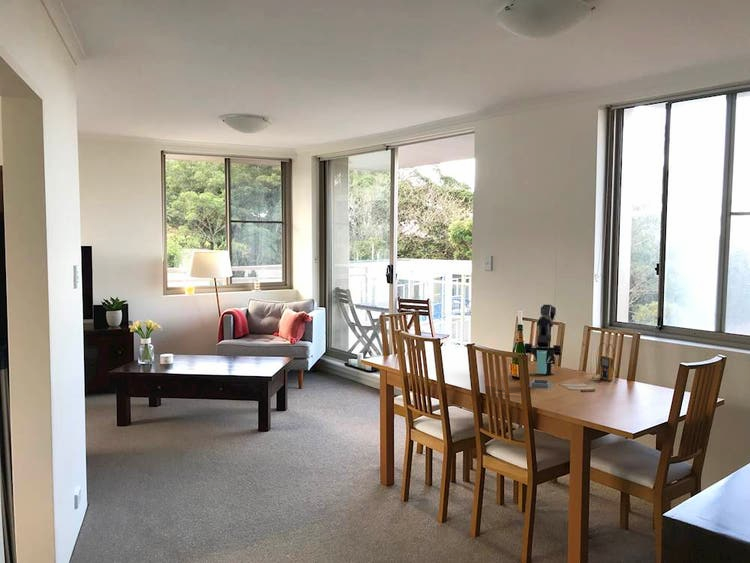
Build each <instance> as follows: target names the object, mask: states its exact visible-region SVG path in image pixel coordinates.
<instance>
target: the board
mask: <svg viewBox="0 0 750 563" xmlns="http://www.w3.org/2000/svg"><path fill="white" fill-rule="evenodd" d="M559 385H560V386H562V387H564V388H565V389H568V390H569V391H580V392H581V393H584V392H588V391H590V392H596V389H595V388H594V387H592V386H590V385H587V384H585V383H584V382H569V383H559Z"/></svg>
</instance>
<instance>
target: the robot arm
mask: <svg viewBox="0 0 750 563" xmlns="http://www.w3.org/2000/svg"><path fill="white" fill-rule="evenodd" d="M540 315H541V316H539V319H537V322H536V327H537V329H538V335H537V341H536V345H533V343H531V342H530V343H529V342H527V343H524V346H523V347H524V348H523V349H524V353H525V354H531V356H532V355H533V357H534V359H535V363H536V364H537V352H538V351H547V358H546V363H547V366H546V374H541V375H543V376H552V375H555V374H554V373H553V372H552V365H556V356H562V346H561V345H558V344H553V347H551V345H552V344H551V343H552V328H553V326H554V320H555V316H557V309H556V307H555V306H553V305H552V304H543V305H542V306H540Z"/></svg>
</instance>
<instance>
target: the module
mask: <svg viewBox="0 0 750 563" xmlns="http://www.w3.org/2000/svg"><path fill="white" fill-rule="evenodd" d="M546 358H547V351H537V363H536V374H540V375H542V374H546V366H547V363H546Z"/></svg>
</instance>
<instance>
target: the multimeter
mask: <svg viewBox="0 0 750 563" xmlns="http://www.w3.org/2000/svg"><path fill="white" fill-rule="evenodd" d="M602 344H604V345H605V354H601V355H600V358H599V378H595V377H593V376H592V377H593V378H592V380H595V381H600V380H601V381H602V380H604V381H605V382H607V381H608V383H610V381H613V380H614V373H615V377H616V383H618V381H619V380H618V379H619V378H618V375H617V373H616V371H615V368H614V360H615V355H613V356H611V355H609V350H608V348H609V346H611V348H612V351H613V352H615V350H614V347H613V346H612V344H611V343H610V344H608V346H607V344H606V343H605V342H601V343H600V344H599V346H598V348H597V352H596V354H598V352H599V349H600V346H601V345H602ZM597 357H598V355H595V359H596V361H595V367H596V372H595V373H596V374H595V376H597V374H598V369H597V368H598V367H597V366H598V365H597V361H598V360H597V359H598V358H597ZM601 378H603V379H601Z"/></svg>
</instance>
